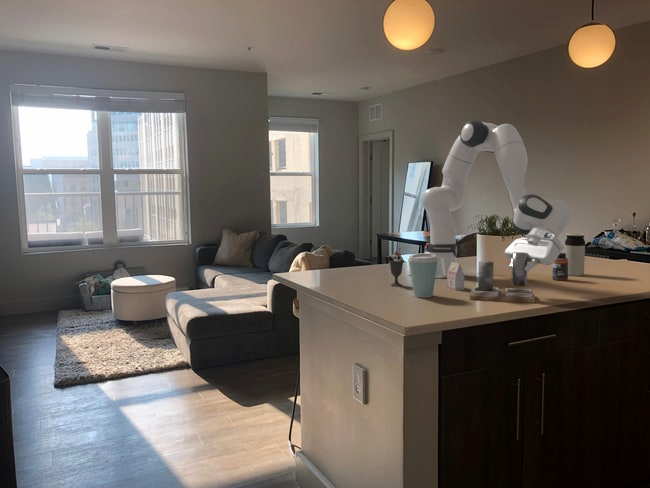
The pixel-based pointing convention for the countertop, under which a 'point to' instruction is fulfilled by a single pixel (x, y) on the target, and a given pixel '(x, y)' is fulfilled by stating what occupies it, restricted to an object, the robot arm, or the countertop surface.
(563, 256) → the supplement bottle
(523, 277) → the loose pin
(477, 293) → the board
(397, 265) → the sundae
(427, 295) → the disposable coffee cup
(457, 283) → the milk carton
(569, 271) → the travel mug
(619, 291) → the countertop surface
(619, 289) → the countertop surface
